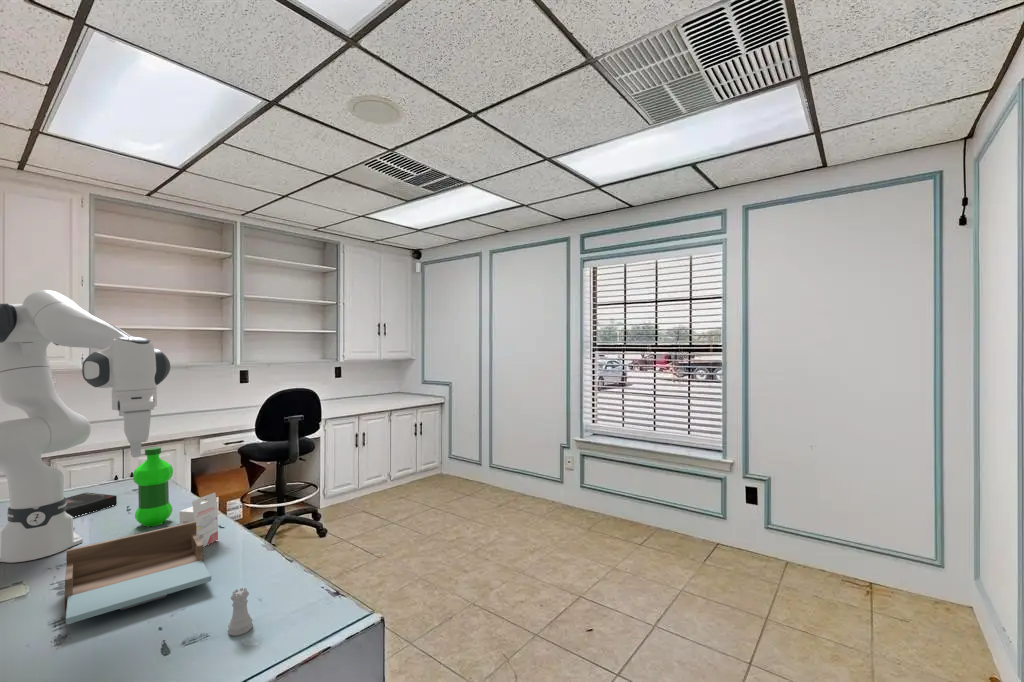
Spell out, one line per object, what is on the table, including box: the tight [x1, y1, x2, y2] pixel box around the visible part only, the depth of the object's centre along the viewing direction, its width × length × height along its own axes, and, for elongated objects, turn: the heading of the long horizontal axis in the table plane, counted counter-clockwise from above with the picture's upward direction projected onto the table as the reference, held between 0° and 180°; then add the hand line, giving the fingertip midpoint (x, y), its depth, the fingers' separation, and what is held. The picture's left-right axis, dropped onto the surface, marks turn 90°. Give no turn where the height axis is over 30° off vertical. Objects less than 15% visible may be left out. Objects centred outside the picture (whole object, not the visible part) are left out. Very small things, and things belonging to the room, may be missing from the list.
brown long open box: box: [64, 521, 205, 613], centre depth 117 cm, size 12×26×10 cm, turn 132°
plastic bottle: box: [132, 446, 174, 527], centre depth 156 cm, size 10×10×25 cm
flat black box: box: [65, 492, 118, 517], centre depth 170 cm, size 16×17×4 cm
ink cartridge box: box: [179, 492, 219, 548], centre depth 138 cm, size 9×5×15 cm, turn 168°
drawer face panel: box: [65, 560, 212, 625], centre depth 108 cm, size 2×25×12 cm
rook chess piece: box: [227, 587, 254, 637], centre depth 96 cm, size 4×4×8 cm
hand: (135, 456), depth 118 cm, fingers closed
